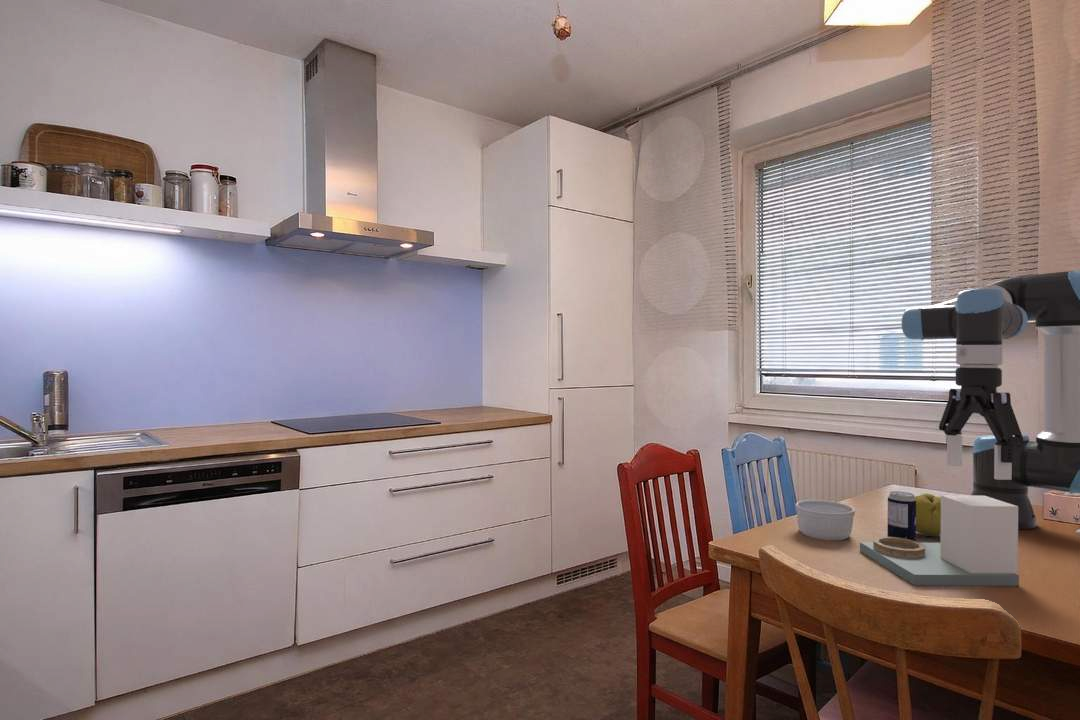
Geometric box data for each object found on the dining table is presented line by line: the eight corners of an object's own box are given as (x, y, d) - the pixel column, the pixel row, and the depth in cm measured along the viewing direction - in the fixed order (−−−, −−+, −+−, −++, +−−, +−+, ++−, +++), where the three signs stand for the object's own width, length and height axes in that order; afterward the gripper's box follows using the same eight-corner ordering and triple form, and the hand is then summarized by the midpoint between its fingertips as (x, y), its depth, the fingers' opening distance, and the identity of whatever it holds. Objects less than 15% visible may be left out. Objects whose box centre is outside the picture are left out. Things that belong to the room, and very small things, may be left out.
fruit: (900, 526, 155) (900, 488, 155) (955, 533, 149) (955, 493, 149) (900, 538, 146) (901, 496, 146) (960, 545, 140) (960, 502, 140)
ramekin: (826, 545, 140) (827, 515, 140) (783, 530, 152) (783, 502, 152) (866, 538, 145) (867, 509, 145) (821, 524, 157) (821, 497, 157)
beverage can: (920, 549, 137) (920, 497, 137) (892, 548, 138) (893, 495, 138) (910, 542, 142) (910, 491, 142) (883, 540, 143) (884, 490, 143)
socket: (907, 543, 135) (907, 536, 135) (935, 557, 125) (935, 550, 125) (864, 543, 135) (865, 536, 135) (889, 557, 125) (889, 550, 125)
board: (949, 551, 136) (949, 498, 135) (1018, 585, 116) (1019, 523, 115) (859, 551, 136) (860, 497, 136) (914, 585, 116) (914, 522, 116)
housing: (983, 557, 126) (984, 495, 125) (1017, 573, 117) (1018, 506, 116) (940, 557, 126) (940, 495, 125) (970, 573, 117) (971, 506, 116)
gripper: (921, 365, 133) (919, 461, 134) (1006, 367, 108) (1005, 485, 109) (955, 365, 133) (954, 461, 133) (1049, 368, 108) (1047, 485, 108)
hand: (977, 472), depth 121 cm, fingers open, 13 cm apart
